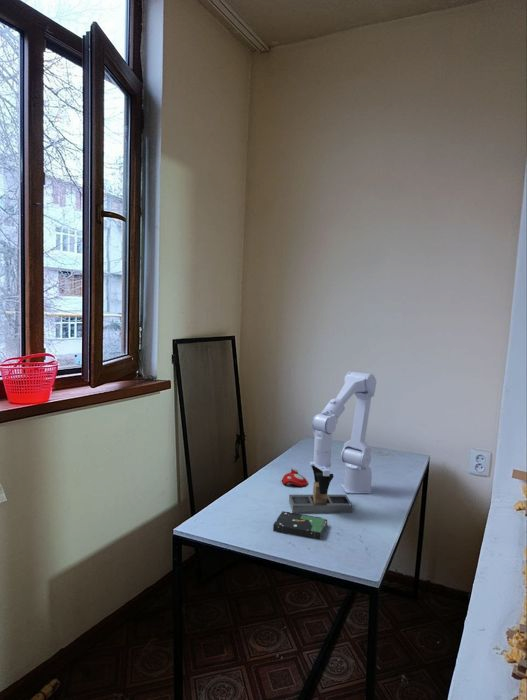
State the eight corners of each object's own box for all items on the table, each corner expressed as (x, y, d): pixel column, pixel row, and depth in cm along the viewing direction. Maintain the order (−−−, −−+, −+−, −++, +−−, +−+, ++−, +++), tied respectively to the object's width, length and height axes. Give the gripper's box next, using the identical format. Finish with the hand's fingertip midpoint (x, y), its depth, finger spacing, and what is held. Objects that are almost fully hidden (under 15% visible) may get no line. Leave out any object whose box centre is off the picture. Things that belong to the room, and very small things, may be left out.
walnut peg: (324, 504, 167) (325, 482, 166) (326, 509, 163) (327, 486, 162) (312, 504, 166) (313, 482, 165) (314, 509, 162) (315, 486, 161)
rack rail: (345, 501, 170) (345, 494, 169) (352, 512, 161) (352, 505, 161) (288, 501, 168) (289, 494, 168) (292, 513, 159) (293, 505, 159)
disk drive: (272, 533, 146) (321, 541, 142) (272, 524, 146) (321, 532, 141) (281, 519, 156) (327, 526, 151) (281, 510, 156) (327, 517, 151)
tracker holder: (313, 483, 183) (292, 481, 178) (309, 493, 184) (287, 491, 179) (297, 465, 194) (276, 463, 189) (293, 475, 195) (272, 473, 189)
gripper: (307, 443, 169) (305, 481, 171) (315, 457, 155) (313, 498, 156) (326, 443, 170) (325, 480, 171) (336, 457, 155) (334, 497, 157)
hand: (320, 489), depth 164 cm, fingers open, 7 cm apart
